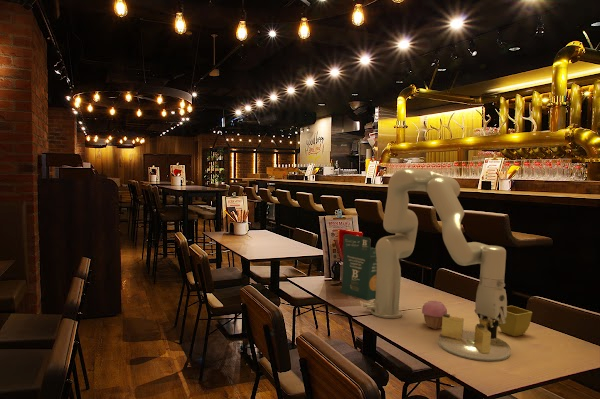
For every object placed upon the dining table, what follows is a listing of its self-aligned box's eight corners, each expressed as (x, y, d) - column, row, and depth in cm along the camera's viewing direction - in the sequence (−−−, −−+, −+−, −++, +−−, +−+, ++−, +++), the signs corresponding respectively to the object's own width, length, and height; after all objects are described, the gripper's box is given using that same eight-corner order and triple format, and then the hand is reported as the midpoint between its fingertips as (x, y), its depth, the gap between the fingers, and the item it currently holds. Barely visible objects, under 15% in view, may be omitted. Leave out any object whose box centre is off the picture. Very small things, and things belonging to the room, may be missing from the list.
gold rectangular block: (484, 340, 151) (485, 319, 150) (478, 338, 153) (479, 317, 153) (497, 338, 154) (498, 317, 154) (491, 335, 156) (492, 315, 156)
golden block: (462, 337, 153) (463, 316, 153) (461, 339, 151) (462, 318, 151) (443, 333, 156) (444, 313, 156) (441, 335, 154) (442, 314, 154)
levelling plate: (450, 359, 139) (450, 351, 139) (430, 334, 161) (431, 327, 161) (522, 363, 139) (522, 355, 139) (493, 337, 161) (493, 330, 161)
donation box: (340, 292, 214) (343, 233, 213) (362, 288, 225) (365, 231, 223) (367, 300, 202) (370, 238, 201) (389, 295, 213) (392, 236, 212)
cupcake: (450, 328, 169) (451, 301, 169) (438, 333, 163) (440, 305, 163) (428, 322, 175) (430, 296, 175) (416, 326, 169) (418, 300, 169)
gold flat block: (489, 353, 140) (491, 330, 139) (481, 352, 140) (483, 330, 140) (481, 345, 146) (483, 324, 146) (474, 345, 146) (475, 323, 146)
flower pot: (514, 339, 160) (516, 314, 159) (494, 331, 168) (495, 307, 167) (531, 336, 164) (532, 312, 164) (510, 328, 172) (511, 305, 171)
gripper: (519, 288, 146) (515, 344, 147) (482, 276, 161) (479, 327, 162) (501, 289, 143) (497, 346, 144) (465, 277, 159) (462, 329, 160)
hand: (488, 336), depth 153 cm, fingers closed on gold rectangular block, 2 cm apart
